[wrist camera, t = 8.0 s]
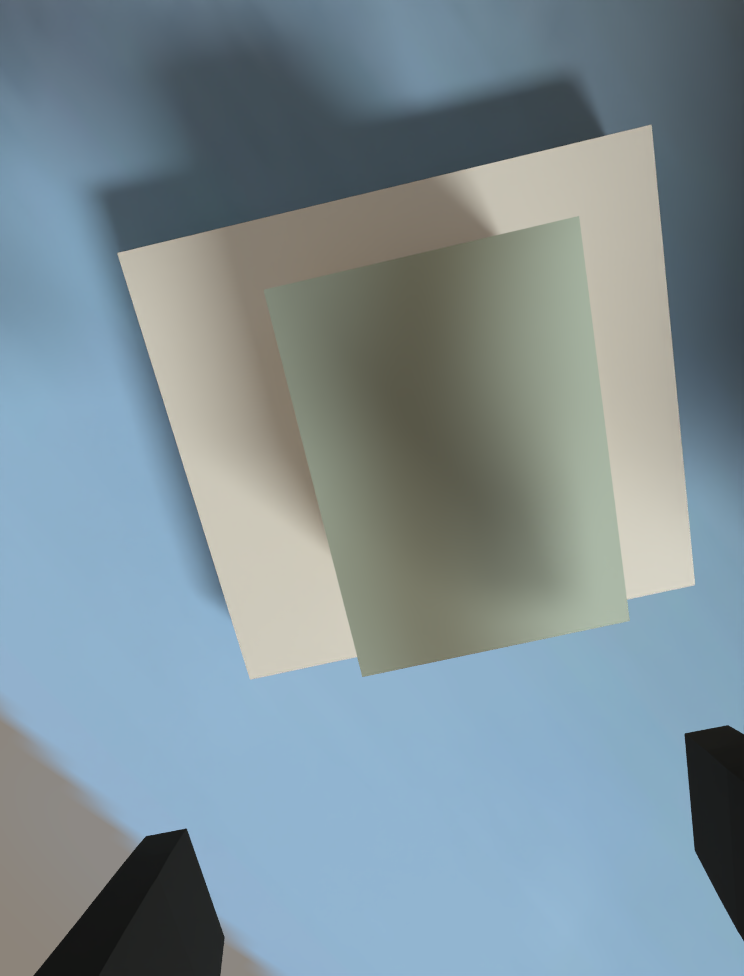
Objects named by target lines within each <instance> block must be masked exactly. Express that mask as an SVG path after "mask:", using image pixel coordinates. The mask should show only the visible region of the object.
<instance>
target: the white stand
mask: <svg viewBox="0 0 744 976" xmlns="http://www.w3.org/2000/svg"><path fill="white" fill-rule="evenodd" d="M577 216H579V219H580V227H581V235H582V243H583V251H584V259H585V267H586V275H587V283H588V291H589V299H590V307H591V315H592V323H593V331H594V339H595V347H596V355H597V363H598V371H599V379H600V388H601V396H602V404H603V412H604V420H605V428H606V436H607V444H608V452H609V460H610V468H611V476H612V484H613V492H614V500H615V508H616V516H617V524H618V532H619V540H620V548H621V556H622V564H623V572H624V580H625V588H626V596H627V599H632V598H636V597H641V596H646V595H651V594H655V593H660V592H665V591H669V590H674V589H679V588H683V587H688V586H693V585H695V580H694V569H693V559H692V548H691V537H690V527H689V516H688V506H687V495H686V485H685V474H684V463H683V453H682V442H681V432H680V421H679V410H678V400H677V389H676V379H675V368H674V357H673V347H672V336H671V326H670V315H669V305H668V294H667V283H666V273H665V262H664V252H663V241H662V230H661V220H660V209H659V199H658V188H657V177H656V167H655V156H654V146H653V135H652V125H648V126H644V127H640V128H636V129H631V130H627V131H623V132H619V133H615V134H611V135H606V136H602V137H598V138H594V139H590V140H586V141H581V142H577V143H573V144H569V145H565V146H561V147H556V148H552V149H548V150H544V151H540V152H536V153H531V154H527V155H523V156H519V157H515V158H511V159H506V160H502V161H498V162H494V163H490V164H486V165H482V166H477V167H473V168H469V169H465V170H461V171H457V172H452V173H448V174H444V175H440V176H436V177H432V178H427V179H423V180H419V181H415V182H411V183H407V184H402V185H398V186H394V187H390V188H386V189H382V190H377V191H373V192H369V193H365V194H361V195H357V196H352V197H348V198H344V199H340V200H336V201H332V202H327V203H323V204H319V205H315V206H311V207H307V208H302V209H298V210H294V211H290V212H286V213H282V214H277V215H273V216H269V217H265V218H261V219H257V220H253V221H248V222H244V223H240V224H236V225H232V226H228V227H223V228H219V229H215V230H211V231H207V232H203V233H198V234H194V235H190V236H186V237H182V238H178V239H173V240H169V241H165V242H161V243H157V244H153V245H148V246H144V247H140V248H136V249H132V250H128V251H123V252H119V253H117V254H118V257H119V260H120V263H121V267H122V270H123V273H124V276H125V279H126V283H127V286H128V289H129V292H130V295H131V299H132V302H133V305H134V308H135V312H136V315H137V318H138V321H139V324H140V328H141V331H142V334H143V337H144V340H145V344H146V347H147V350H148V353H149V356H150V360H151V363H152V366H153V369H154V373H155V376H156V379H157V382H158V385H159V389H160V392H161V395H162V398H163V401H164V405H165V408H166V411H167V414H168V417H169V421H170V424H171V427H172V430H173V433H174V437H175V440H176V443H177V446H178V450H179V453H180V456H181V459H182V462H183V466H184V469H185V472H186V475H187V478H188V482H189V485H190V488H191V491H192V494H193V498H194V501H195V504H196V507H197V510H198V514H199V517H200V520H201V523H202V527H203V530H204V533H205V536H206V539H207V543H208V546H209V549H210V552H211V555H212V559H213V562H214V565H215V568H216V571H217V575H218V578H219V581H220V584H221V588H222V591H223V594H224V597H225V600H226V604H227V607H228V610H229V613H230V616H231V620H232V623H233V626H234V629H235V632H236V636H237V639H238V642H239V645H240V648H241V652H242V655H243V658H244V661H245V665H246V668H247V671H248V674H249V677H250V679H255V678H260V677H265V676H269V675H274V674H279V673H283V672H288V671H293V670H298V669H302V668H307V667H312V666H316V665H321V664H326V663H330V662H335V661H340V660H345V659H349V658H354V657H357V654H356V650H355V646H354V642H353V638H352V634H351V630H350V626H349V622H348V618H347V615H346V611H345V607H344V603H343V599H342V595H341V591H340V587H339V583H338V579H337V575H336V572H335V568H334V564H333V560H332V556H331V552H330V548H329V544H328V540H327V536H326V532H325V529H324V525H323V521H322V517H321V513H320V509H319V505H318V501H317V497H316V493H315V489H314V486H313V482H312V478H311V474H310V470H309V466H308V462H307V458H306V454H305V450H304V446H303V442H302V439H301V435H300V431H299V427H298V423H297V419H296V415H295V411H294V407H293V403H292V399H291V396H290V392H289V388H288V384H287V380H286V376H285V372H284V368H283V364H282V360H281V356H280V353H279V349H278V345H277V341H276V337H275V333H274V329H273V325H272V321H271V317H270V313H269V310H268V306H267V302H266V298H265V294H264V290H265V289H269V288H273V287H278V286H282V285H286V284H290V283H295V282H299V281H303V280H308V279H312V278H316V277H320V276H325V275H329V274H333V273H337V272H342V271H346V270H350V269H355V268H359V267H363V266H367V265H372V264H376V263H380V262H384V261H389V260H393V259H397V258H402V257H406V256H410V255H414V254H419V253H423V252H427V251H431V250H436V249H440V248H444V247H449V246H453V245H457V244H461V243H466V242H470V241H474V240H478V239H483V238H487V237H491V236H496V235H500V234H504V233H508V232H513V231H517V230H521V229H525V228H530V227H534V226H538V225H542V224H547V223H551V222H555V221H560V220H564V219H568V218H572V217H577Z"/></svg>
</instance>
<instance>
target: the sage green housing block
mask: <svg viewBox="0 0 744 976" xmlns="http://www.w3.org/2000/svg"><path fill="white" fill-rule="evenodd" d="M264 294H265V298H266V302H267V306H268V310H269V313H270V317H271V321H272V325H273V329H274V333H275V337H276V341H277V345H278V349H279V353H280V356H281V360H282V364H283V368H284V372H285V376H286V380H287V384H288V388H289V392H290V396H291V399H292V403H293V407H294V411H295V415H296V419H297V423H298V427H299V431H300V435H301V439H302V442H303V446H304V450H305V454H306V458H307V462H308V466H309V470H310V474H311V478H312V482H313V486H314V489H315V493H316V497H317V501H318V505H319V509H320V513H321V517H322V521H323V525H324V529H325V532H326V536H327V540H328V544H329V548H330V552H331V556H332V560H333V564H334V568H335V572H336V575H337V579H338V583H339V587H340V591H341V595H342V599H343V603H344V607H345V611H346V615H347V618H348V622H349V626H350V630H351V634H352V638H353V642H354V646H355V650H356V654H357V658H358V661H359V665H360V669H361V673H362V677H364V676H369V675H374V674H379V673H384V672H388V671H393V670H398V669H403V668H407V667H412V666H417V665H422V664H426V663H431V662H436V661H441V660H446V659H450V658H455V657H460V656H465V655H469V654H474V653H479V652H484V651H488V650H493V649H498V648H503V647H508V646H512V645H517V644H522V643H527V642H531V641H536V640H541V639H546V638H550V637H555V636H560V635H565V634H570V633H574V632H579V631H584V630H589V629H593V628H598V627H603V626H608V625H612V624H617V623H622V622H627V621H630V620H629V612H628V604H627V596H626V588H625V580H624V572H623V564H622V556H621V548H620V540H619V532H618V524H617V516H616V508H615V500H614V492H613V484H612V476H611V468H610V460H609V452H608V444H607V436H606V428H605V420H604V412H603V404H602V396H601V388H600V379H599V371H598V363H597V355H596V347H595V339H594V331H593V323H592V315H591V307H590V299H589V291H588V283H587V275H586V267H585V259H584V251H583V243H582V235H581V227H580V219H579V216H577V217H572V218H568V219H564V220H560V221H555V222H551V223H547V224H542V225H538V226H534V227H530V228H525V229H521V230H517V231H513V232H508V233H504V234H500V235H496V236H491V237H487V238H483V239H478V240H474V241H470V242H466V243H461V244H457V245H453V246H449V247H444V248H440V249H436V250H431V251H427V252H423V253H419V254H414V255H410V256H406V257H402V258H397V259H393V260H389V261H384V262H380V263H376V264H372V265H367V266H363V267H359V268H355V269H350V270H346V271H342V272H337V273H333V274H329V275H325V276H320V277H316V278H312V279H308V280H303V281H299V282H295V283H290V284H286V285H282V286H278V287H273V288H269V289H265V290H264Z"/></svg>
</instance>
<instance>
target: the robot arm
mask: <svg viewBox="0 0 744 976" xmlns="http://www.w3.org/2000/svg"><path fill="white" fill-rule="evenodd" d="M685 744H686V756H687V767H688V779H689V790H690V801H691V813H692V824H693V836H694V847H695V852H696V854H697V856H698V858H699V859H700V861H701V863H702V865H703V867H704V869H705V871H706V873H707V875H708V877H709V879H710V881H711V883H712V884H713V886H714V888H715V890H716V892H717V894H718V896H719V898H720V900H721V901H722V903H723V905H724V907H725V909H726V911H727V912H728V914H729V916H730V918H731V920H732V922H733V923H734V925H735V927H736V929H737V931H738V932H739V934H740V935H741V937H742V939H743V940H744V734H742V733H741V732H739V731H737V730H735V729H734V728H732V727H730V726H728V725H727V726H722V727H716V728H711V729H706V730H701V731H695V732H690V733H685ZM223 946H224V935H223V932H222V929H221V926H220V923H219V920H218V917H217V914H216V912H215V909H214V906H213V903H212V900H211V897H210V894H209V891H208V889H207V886H206V883H205V880H204V877H203V874H202V871H201V868H200V866H199V863H198V860H197V857H196V854H195V851H194V848H193V845H192V843H191V840H190V837H189V834H188V831H187V829H182V830H177V831H171V832H166V833H161V834H156V835H150V836H146V837H145V838H144V839H143V840H142V842H141V843H140V844H139V845H138V846H137V847H136V849H135V850H134V851H133V852H132V854H131V855H130V856H129V857H128V859H127V860H126V861H125V862H124V863H123V865H122V866H121V867H120V868H119V870H118V871H117V872H116V874H115V875H114V876H113V877H112V878H111V880H110V881H109V882H108V884H107V885H106V886H105V887H104V889H103V890H102V891H101V892H100V894H99V895H98V896H97V897H96V899H95V900H94V901H93V902H92V904H91V905H90V906H89V907H88V909H87V910H86V911H85V913H84V914H83V915H82V916H81V918H80V919H79V920H78V921H77V923H76V924H75V925H74V926H73V928H72V929H71V930H70V931H69V933H68V934H67V935H66V936H65V938H64V939H63V940H62V941H61V942H60V944H59V945H58V946H57V947H56V949H55V950H54V951H53V952H52V954H51V955H50V956H49V957H48V959H47V960H46V961H45V962H44V964H43V965H42V966H41V967H40V968H39V970H38V971H37V972H36V973H35V975H34V976H220V973H221V963H222V955H223Z"/></svg>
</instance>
